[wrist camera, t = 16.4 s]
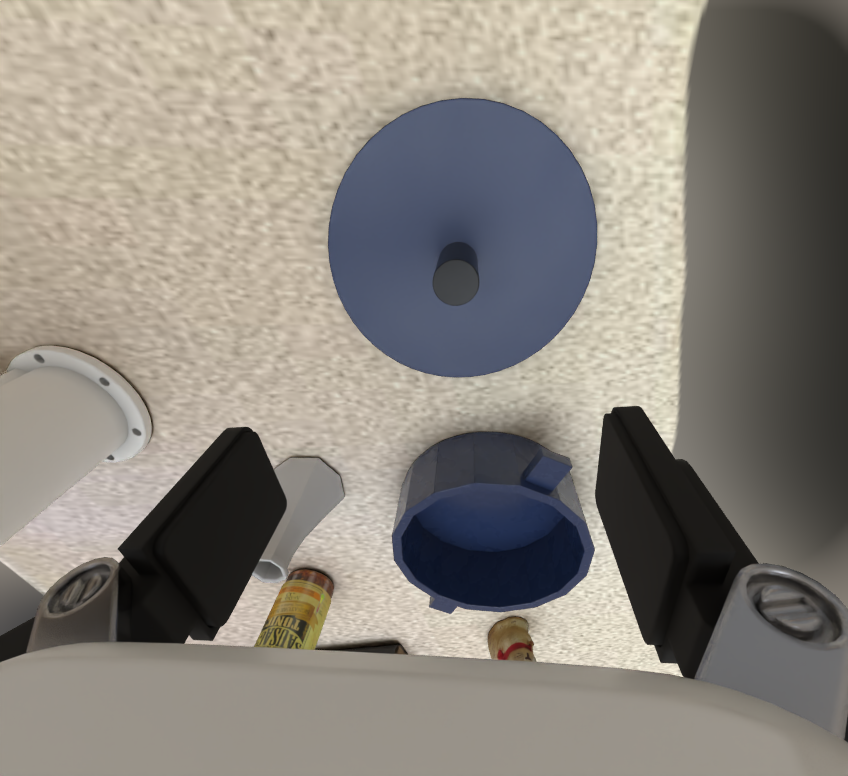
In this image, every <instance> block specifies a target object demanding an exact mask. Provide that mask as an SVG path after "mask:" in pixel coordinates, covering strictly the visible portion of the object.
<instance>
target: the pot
mask: <svg viewBox="0 0 848 776" xmlns="http://www.w3.org/2000/svg"><path fill="white" fill-rule="evenodd" d="M571 468H572V464H571V461H570V459H569V458H567V457H565V456H562V455H560V454H557V453H554V452H552V451H550V450H548V449H547V448H545V447H543V446H542V445H540V444H538V443H536V442H534V441H532V440H529V439H527V438H523V437H520V436H517V435H512V434H507V433H500V432H475V433H467V434H462V435H458V436H454V437H452V438H449V439H446V440H443V441H441V442H439V443H437V444H435V445H434V446H432V447H431V448H429V449H427V450H426V451H425V452H424V453H423V454H421V455H420V456H419V457H418V458H417V459H416V461H415V462H414V463H413V464H412V466H411V467H410V469H409V471H408V473H407V475H406V478H405V480H404V482H403V484H402V488H401V493H400V498H399V503H398V508H397V513H396V518H395V523H394V528H393V533H392V543H393V554H394V561H395V562H396V564H397V565H398V567H399V568H400V569H401V571H402V572H403V574H404V575H405V577H406V578H407V579H408V581H409V582H410V583H412V584H413V585H415V586H416V587H418V588H419V589H421V590H422V591H424V592H425V593H427V594H428V595H430V596H431V597H430V604H429V607H430V608H434V609H437V610H440V611H443V612H446V613H449V614H451V613H452V612H453V611H454V610H455V609H456V607H457V606H458V607H461V608H464V609H469V610H480V611H492V612H506V611H513V610H520V609H528V608H535V607H538V606H540V605H542V604H545V603H547V602H550V601H552V600H554V599H557V598H559V597H562V596H564V595H566V594H567V593H568V592H569V591H570V590H571V589H573V588H574V587H575V586H576V585H577V584H578V583H579V582H580V581H581V580H582V579H583V578H584V577H586V576H587V573H588V570H589V567H590V564H591V561H592V557H593V554H594V551H595V548H594V545H593V542H592V539H591V536H590V533H589V530H588V527H587V524H586V521H585V517H584V514H583V511H582V508H581V505H580V502H579V499H578V496H577V493H576V490H575V487H574V483H573V480H572V477H571V474H570V470H571Z"/></svg>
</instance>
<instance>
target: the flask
mask: <svg viewBox="0 0 848 776" xmlns="http://www.w3.org/2000/svg"><path fill="white" fill-rule="evenodd" d="M274 472H275V474H276V476H277V478H278V480H279V483H280V485H281V487H282V489H283V492H284V494H285V496H286V499H287V508H286V511H285V513H284V515H283V517H282V519H281V521H280V522H279V524H278V526H277V528H276V530H275V532H274V534H273V536H272V538H271V539H270V541H269V543H268V545H267V547H266V549H265V551H264V553H263V555H262V557H261V558H260V560H259V562H258V564H257V566H256V568H255V570H254V572H253V574H252V576H254V577H255V578H257V579H258V580H260V581H262V582H265V583H279V582H281V581H283V580H284V579H286V578H287V577H288V574H289V572H288V569H287V568H288V565H289V563H290V561H291V559H292V556H293V554H294V553H295V552H296V550H297V549H298V547H299V546H300V544H301V543H302V541H303V540H304V538H305V537H306V536H307V535H308V534H309V533H310V532H311V531H312V530H313V529H314V528H315V527H316V526H317V525H318V523H319V522H320V521H321V520H322V519H323V518H324V517H325V516H326V515H327V514H328V513H329V512H330V511H331V510H332V509H333V508H334V507H335V506H336V505H337V504H339V503H340V501H341V500H342V499H343V498H344V497H345V496H344V492H343V487H342V483H341V479H340V476H339V475H338V474H337V473H336V472H334V471H333V470H332V469H331V468H330V467H328V466H327V465H326V464H325V463H324V462H322V461H321V460H320V459H319V458H289V459H288V460H286V461H285V462H284V463H282V464H281V465H279V466H278V467H277V468H275V469H274Z"/></svg>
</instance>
